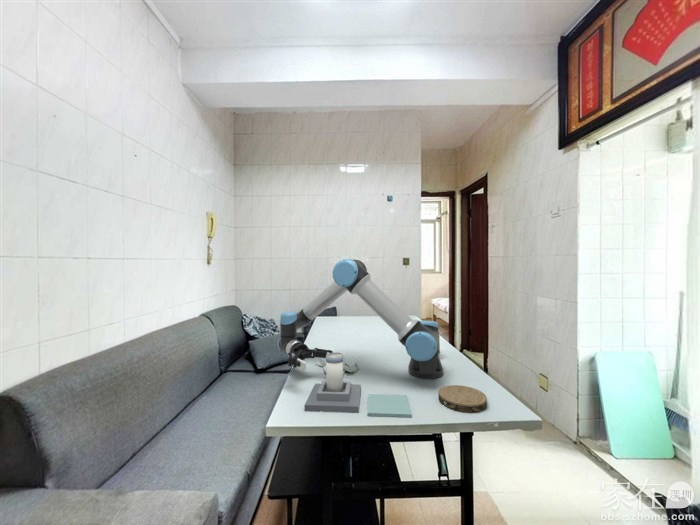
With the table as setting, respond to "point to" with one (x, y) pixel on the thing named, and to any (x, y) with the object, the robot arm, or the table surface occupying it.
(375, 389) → the table surface
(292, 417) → the table surface
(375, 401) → the mat
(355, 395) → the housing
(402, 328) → the robot arm
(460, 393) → the wood slice coaster
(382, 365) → the table surface
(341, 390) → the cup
